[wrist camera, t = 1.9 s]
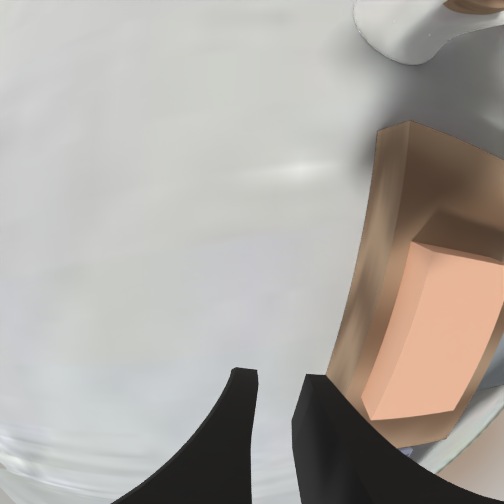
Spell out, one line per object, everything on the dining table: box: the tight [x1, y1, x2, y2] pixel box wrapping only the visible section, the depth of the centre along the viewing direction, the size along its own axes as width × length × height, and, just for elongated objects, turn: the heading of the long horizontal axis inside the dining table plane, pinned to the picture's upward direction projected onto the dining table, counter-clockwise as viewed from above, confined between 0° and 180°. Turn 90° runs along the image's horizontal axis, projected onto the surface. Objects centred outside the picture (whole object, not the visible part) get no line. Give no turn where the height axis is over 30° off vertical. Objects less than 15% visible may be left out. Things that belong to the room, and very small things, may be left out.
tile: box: [361, 241, 504, 420], centre depth 13 cm, size 9×6×2 cm, turn 172°
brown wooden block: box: [326, 120, 504, 448], centre depth 16 cm, size 20×11×4 cm, turn 172°
